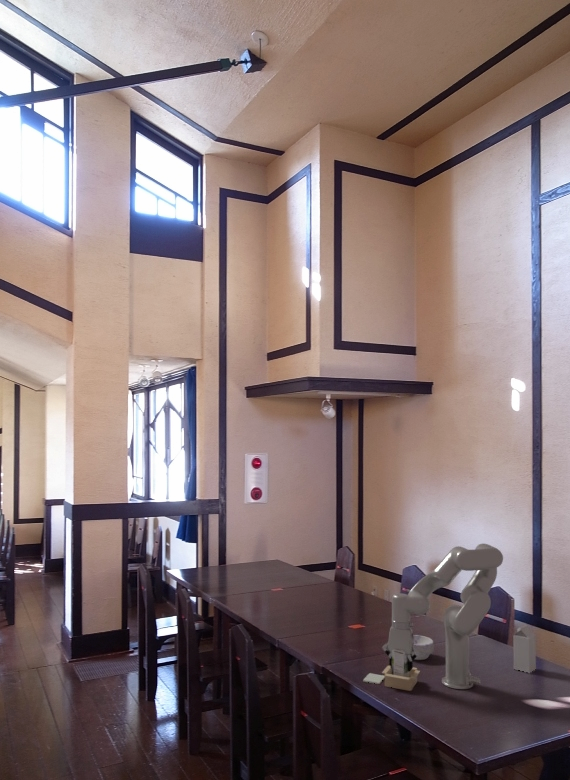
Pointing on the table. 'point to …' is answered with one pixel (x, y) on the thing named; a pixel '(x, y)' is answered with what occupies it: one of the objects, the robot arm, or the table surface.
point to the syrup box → (400, 663)
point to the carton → (400, 679)
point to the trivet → (374, 678)
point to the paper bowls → (423, 646)
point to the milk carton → (524, 650)
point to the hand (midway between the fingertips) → (400, 668)
